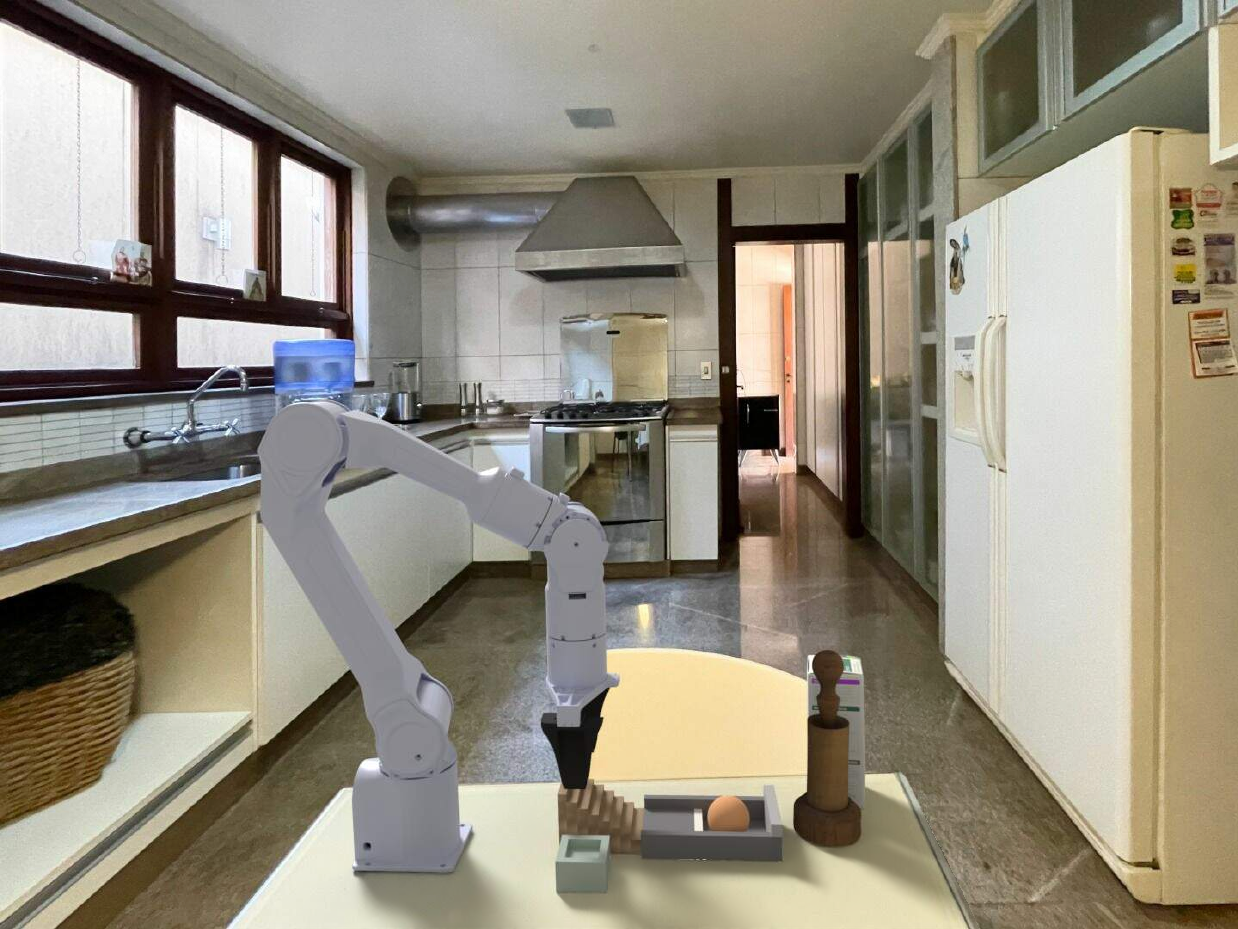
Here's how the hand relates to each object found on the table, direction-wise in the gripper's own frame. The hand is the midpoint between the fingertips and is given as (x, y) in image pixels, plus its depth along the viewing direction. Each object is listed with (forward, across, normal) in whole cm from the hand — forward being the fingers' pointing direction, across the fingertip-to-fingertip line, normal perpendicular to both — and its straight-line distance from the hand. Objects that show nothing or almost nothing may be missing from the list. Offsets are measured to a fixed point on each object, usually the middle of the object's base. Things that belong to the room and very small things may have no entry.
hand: (580, 768), depth 84 cm
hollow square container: (+7, -7, -1) cm, 10 cm away
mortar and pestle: (+7, +2, -24) cm, 25 cm away
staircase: (+7, 0, -2) cm, 7 cm away
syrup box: (+7, +9, -26) cm, 28 cm away
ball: (+5, 0, -14) cm, 15 cm away
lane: (+7, 0, -12) cm, 14 cm away
